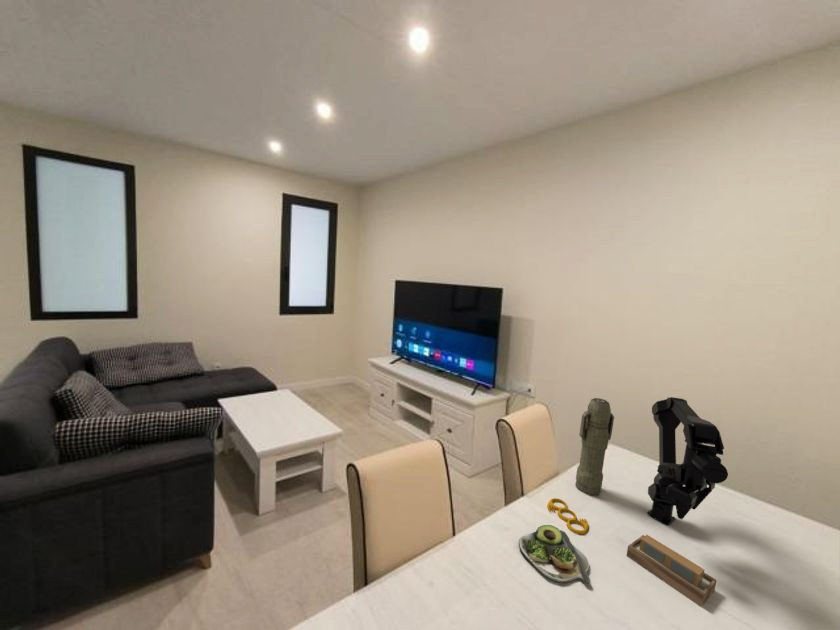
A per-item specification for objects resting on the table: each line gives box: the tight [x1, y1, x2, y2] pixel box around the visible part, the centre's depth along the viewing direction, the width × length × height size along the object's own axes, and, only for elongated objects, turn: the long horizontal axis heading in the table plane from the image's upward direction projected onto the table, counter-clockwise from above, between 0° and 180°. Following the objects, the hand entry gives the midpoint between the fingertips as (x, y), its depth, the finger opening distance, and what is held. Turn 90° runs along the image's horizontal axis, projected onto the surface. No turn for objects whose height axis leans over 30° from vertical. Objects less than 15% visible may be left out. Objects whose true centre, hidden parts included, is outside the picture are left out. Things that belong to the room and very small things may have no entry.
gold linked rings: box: [546, 497, 589, 536], centre depth 118 cm, size 17×2×10 cm
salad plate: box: [518, 524, 591, 584], centre depth 99 cm, size 19×18×5 cm
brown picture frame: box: [626, 534, 718, 607], centre depth 98 cm, size 9×18×3 cm, turn 34°
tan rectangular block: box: [639, 534, 705, 587], centre depth 97 cm, size 4×14×4 cm, turn 34°
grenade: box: [575, 397, 615, 496], centre depth 133 cm, size 9×12×35 cm
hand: (686, 513), depth 105 cm, fingers open, 9 cm apart
